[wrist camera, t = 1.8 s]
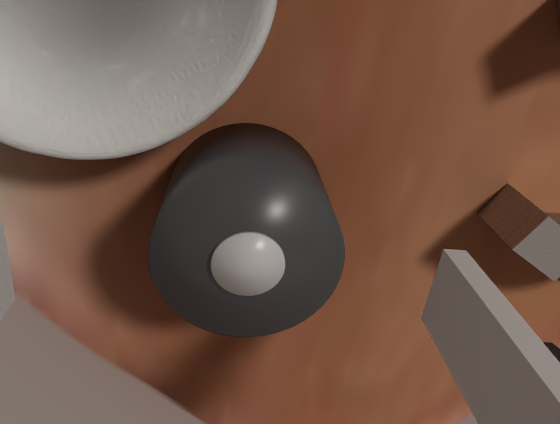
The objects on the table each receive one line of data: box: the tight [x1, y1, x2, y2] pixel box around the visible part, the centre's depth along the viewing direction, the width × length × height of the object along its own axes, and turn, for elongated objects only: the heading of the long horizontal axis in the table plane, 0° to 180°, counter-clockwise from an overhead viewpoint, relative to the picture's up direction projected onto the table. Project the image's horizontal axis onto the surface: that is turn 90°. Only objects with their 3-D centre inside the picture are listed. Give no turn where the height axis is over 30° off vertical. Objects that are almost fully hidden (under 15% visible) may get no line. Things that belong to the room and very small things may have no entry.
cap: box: [148, 123, 345, 337], centre depth 17 cm, size 6×6×5 cm
